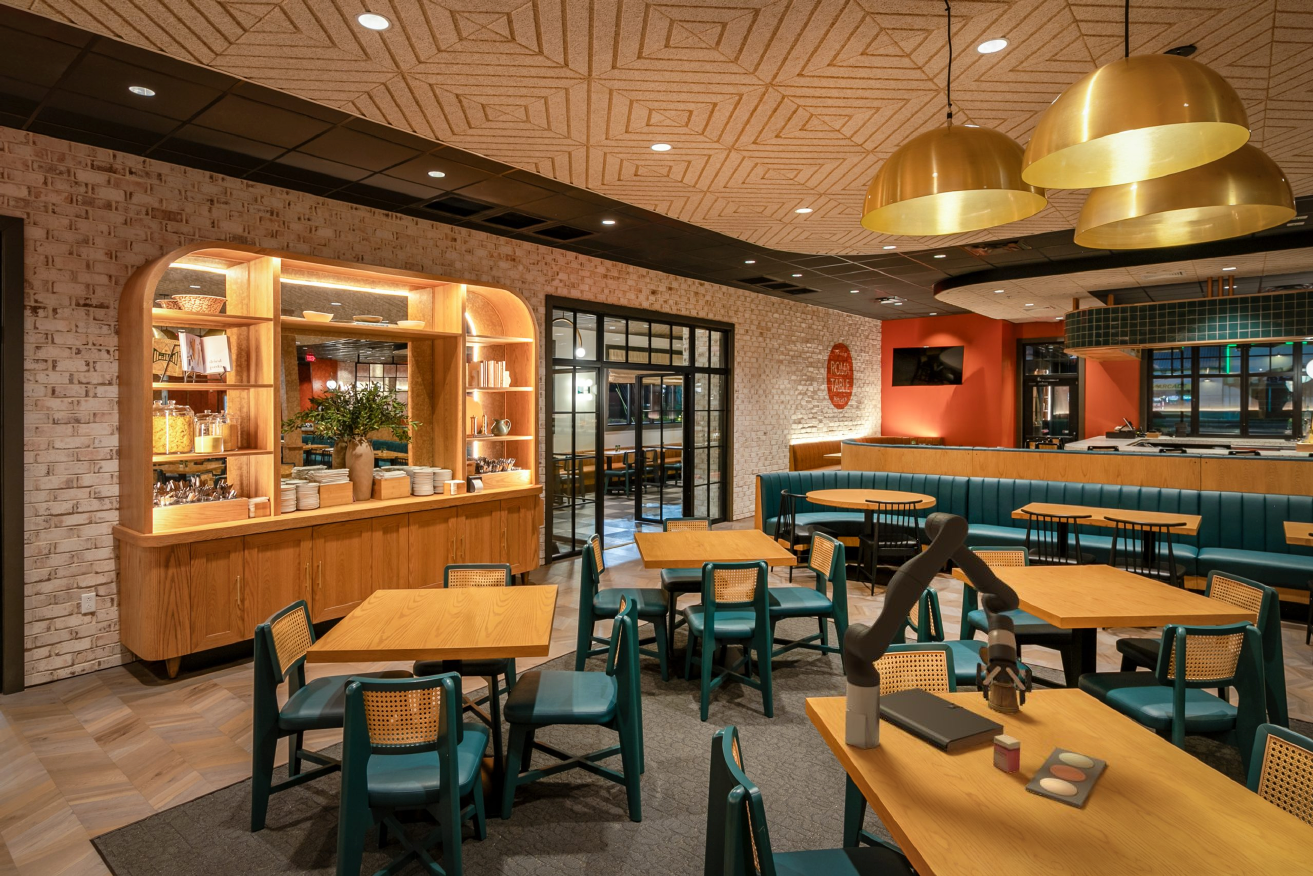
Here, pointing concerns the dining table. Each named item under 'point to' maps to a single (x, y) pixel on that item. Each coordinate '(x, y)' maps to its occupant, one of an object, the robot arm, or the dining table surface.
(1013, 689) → the wooden mug
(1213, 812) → the dining table surface
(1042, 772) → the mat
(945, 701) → the file folder
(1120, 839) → the dining table surface
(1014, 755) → the small box
